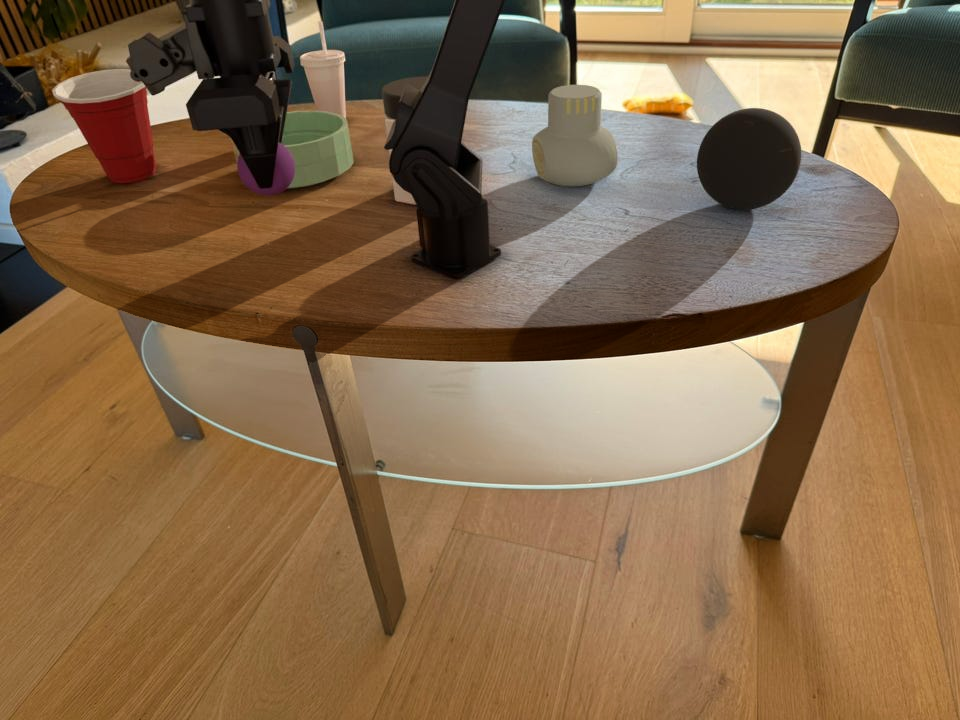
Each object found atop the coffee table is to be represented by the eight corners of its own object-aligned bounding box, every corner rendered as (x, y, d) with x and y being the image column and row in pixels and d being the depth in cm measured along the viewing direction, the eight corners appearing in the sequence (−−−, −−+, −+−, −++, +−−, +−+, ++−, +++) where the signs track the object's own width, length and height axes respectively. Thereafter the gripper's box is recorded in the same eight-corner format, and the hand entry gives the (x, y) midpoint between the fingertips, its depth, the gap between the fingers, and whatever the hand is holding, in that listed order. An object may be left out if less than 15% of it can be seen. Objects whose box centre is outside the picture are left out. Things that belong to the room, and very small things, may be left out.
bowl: (376, 165, 91) (370, 122, 88) (284, 202, 83) (274, 156, 79) (310, 144, 99) (302, 104, 96) (220, 176, 91) (208, 133, 87)
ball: (310, 190, 65) (300, 137, 62) (264, 209, 62) (251, 153, 60) (279, 179, 68) (268, 126, 65) (234, 195, 65) (219, 142, 62)
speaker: (702, 182, 81) (714, 92, 75) (795, 194, 77) (816, 99, 71) (681, 217, 74) (693, 120, 68) (783, 232, 70) (805, 130, 64)
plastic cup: (83, 198, 87) (43, 97, 80) (92, 169, 95) (56, 75, 88) (176, 183, 89) (145, 84, 82) (177, 156, 98) (148, 64, 91)
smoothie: (346, 130, 103) (329, 26, 95) (305, 129, 104) (285, 26, 96) (360, 116, 108) (346, 16, 100) (321, 116, 109) (303, 17, 101)
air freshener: (620, 192, 80) (627, 101, 74) (549, 200, 79) (549, 109, 73) (593, 158, 89) (597, 75, 83) (529, 165, 88) (528, 82, 82)
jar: (465, 205, 79) (458, 95, 72) (392, 210, 79) (378, 100, 72) (464, 175, 86) (457, 72, 79) (397, 180, 86) (384, 77, 79)
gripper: (148, -24, 62) (198, 150, 71) (79, 14, 47) (153, 230, 56) (276, -33, 63) (309, 140, 72) (249, 2, 48) (295, 215, 57)
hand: (269, 177), depth 64 cm, fingers closed on ball, 5 cm apart
